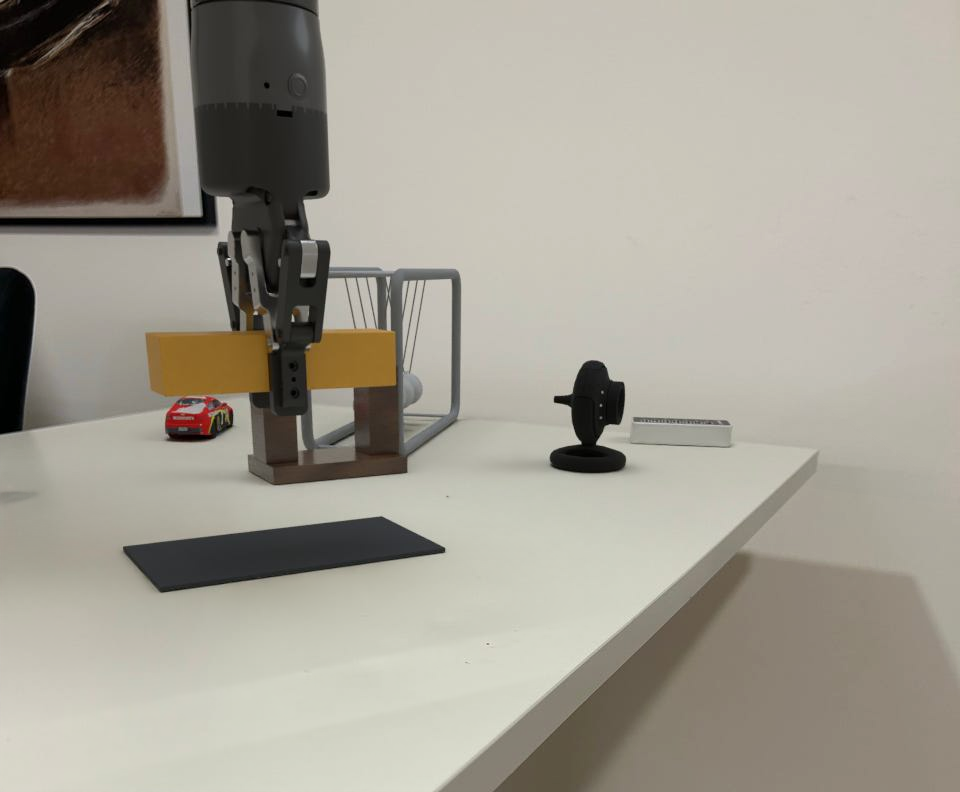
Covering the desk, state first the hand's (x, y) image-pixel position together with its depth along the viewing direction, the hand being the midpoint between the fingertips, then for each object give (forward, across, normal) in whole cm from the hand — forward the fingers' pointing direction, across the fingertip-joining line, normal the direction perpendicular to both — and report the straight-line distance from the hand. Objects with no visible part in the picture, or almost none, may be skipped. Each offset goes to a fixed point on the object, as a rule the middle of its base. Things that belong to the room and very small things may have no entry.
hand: (278, 409), depth 63 cm
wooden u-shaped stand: (+9, -24, +13) cm, 29 cm away
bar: (-1, 0, 0) cm, 1 cm away
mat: (+9, 0, 0) cm, 9 cm away
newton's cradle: (+9, -41, +27) cm, 50 cm away
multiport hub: (+10, -23, +55) cm, 60 cm away
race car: (+9, -51, +9) cm, 53 cm away
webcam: (+10, -16, +37) cm, 41 cm away
